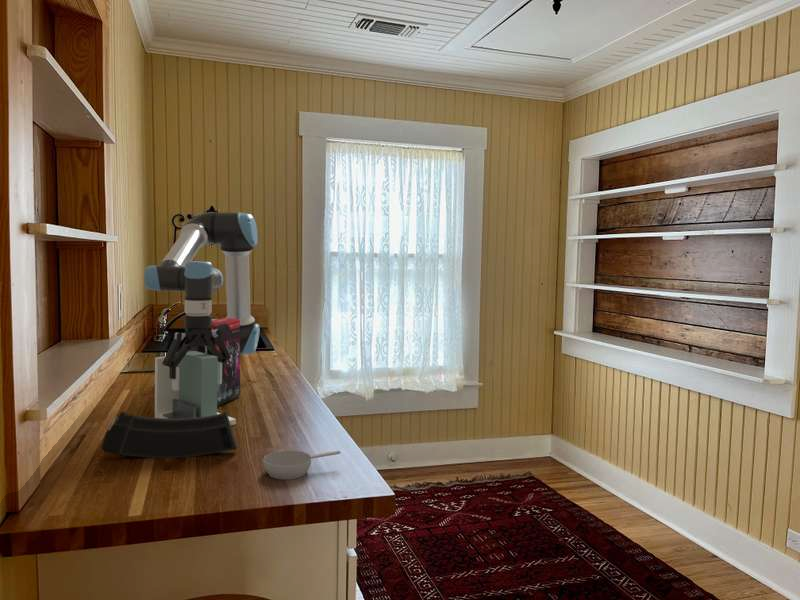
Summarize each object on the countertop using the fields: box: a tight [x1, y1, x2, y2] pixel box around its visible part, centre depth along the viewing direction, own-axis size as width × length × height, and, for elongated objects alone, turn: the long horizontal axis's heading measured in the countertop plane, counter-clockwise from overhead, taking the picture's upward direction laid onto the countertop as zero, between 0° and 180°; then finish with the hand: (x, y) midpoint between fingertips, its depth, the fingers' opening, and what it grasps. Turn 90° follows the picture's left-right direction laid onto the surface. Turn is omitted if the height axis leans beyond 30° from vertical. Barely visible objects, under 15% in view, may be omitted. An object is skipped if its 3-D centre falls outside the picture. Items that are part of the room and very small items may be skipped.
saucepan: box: [263, 450, 341, 481], centre depth 136 cm, size 11×18×4 cm, turn 113°
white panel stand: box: [154, 356, 237, 426], centre depth 171 cm, size 14×21×18 cm, turn 48°
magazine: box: [100, 410, 238, 459], centre depth 142 cm, size 17×3×30 cm
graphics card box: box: [198, 317, 241, 408], centre depth 193 cm, size 17×7×27 cm, turn 168°
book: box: [179, 351, 218, 417], centre depth 172 cm, size 5×13×18 cm, turn 48°
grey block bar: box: [163, 399, 196, 419], centre depth 168 cm, size 4×12×4 cm, turn 48°
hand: (197, 386), depth 172 cm, fingers open, 13 cm apart
